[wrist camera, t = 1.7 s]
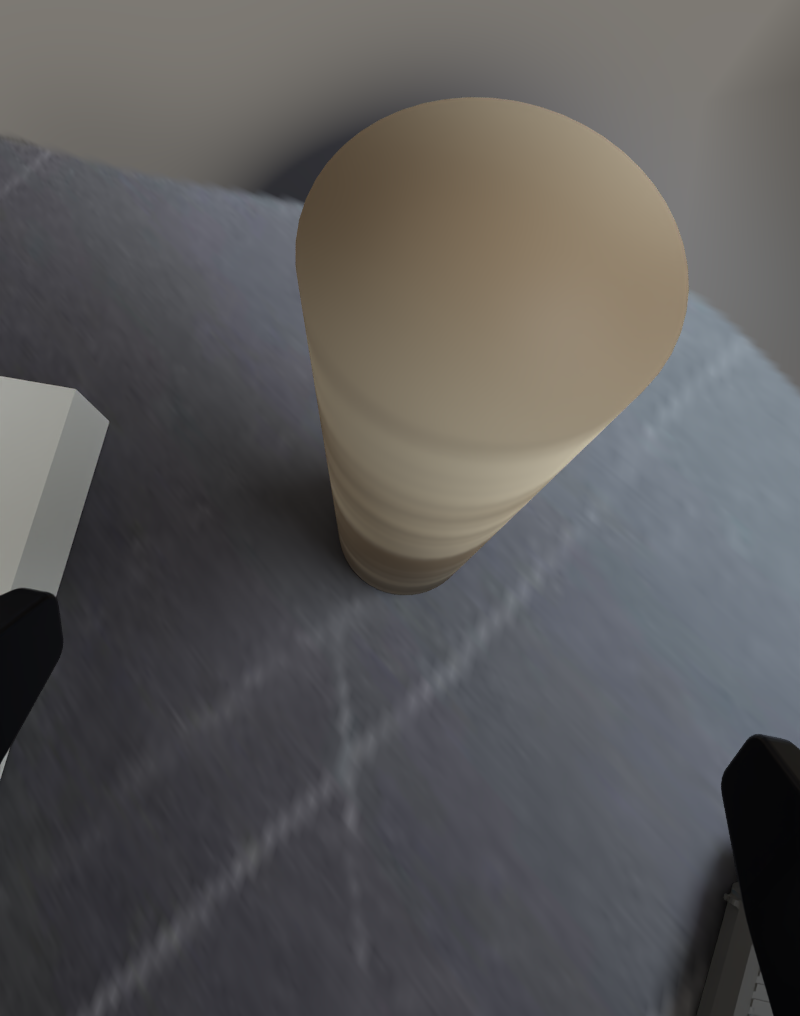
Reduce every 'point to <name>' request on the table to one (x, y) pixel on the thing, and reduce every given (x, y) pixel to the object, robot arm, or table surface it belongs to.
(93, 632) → the table surface
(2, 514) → the socket board
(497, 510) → the plug
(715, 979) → the orange-tipped hinged bar
